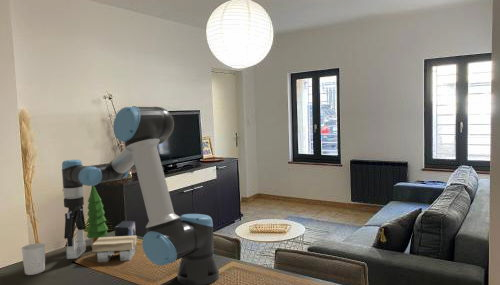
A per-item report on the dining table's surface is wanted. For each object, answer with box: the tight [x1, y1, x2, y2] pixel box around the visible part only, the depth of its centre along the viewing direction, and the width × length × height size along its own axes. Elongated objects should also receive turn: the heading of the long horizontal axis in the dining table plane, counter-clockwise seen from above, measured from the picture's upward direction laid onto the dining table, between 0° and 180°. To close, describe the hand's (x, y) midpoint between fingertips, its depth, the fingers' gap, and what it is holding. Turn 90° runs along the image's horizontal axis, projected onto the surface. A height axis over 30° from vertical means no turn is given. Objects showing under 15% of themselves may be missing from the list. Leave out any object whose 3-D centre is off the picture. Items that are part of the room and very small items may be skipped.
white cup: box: [21, 242, 46, 276], centre depth 147 cm, size 8×8×10 cm
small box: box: [114, 220, 136, 237], centre depth 174 cm, size 11×6×10 cm, turn 179°
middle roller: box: [96, 251, 115, 263], centre depth 160 cm, size 10×4×4 cm, turn 5°
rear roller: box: [119, 245, 136, 262], centre depth 161 cm, size 10×4×4 cm, turn 5°
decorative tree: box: [85, 185, 109, 249], centre depth 175 cm, size 10×9×30 cm
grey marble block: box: [66, 240, 87, 260], centre depth 159 cm, size 10×4×4 cm, turn 4°
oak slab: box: [91, 234, 138, 253], centre depth 160 cm, size 10×16×3 cm, turn 95°
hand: (76, 248), depth 159 cm, fingers closed on grey marble block, 10 cm apart
